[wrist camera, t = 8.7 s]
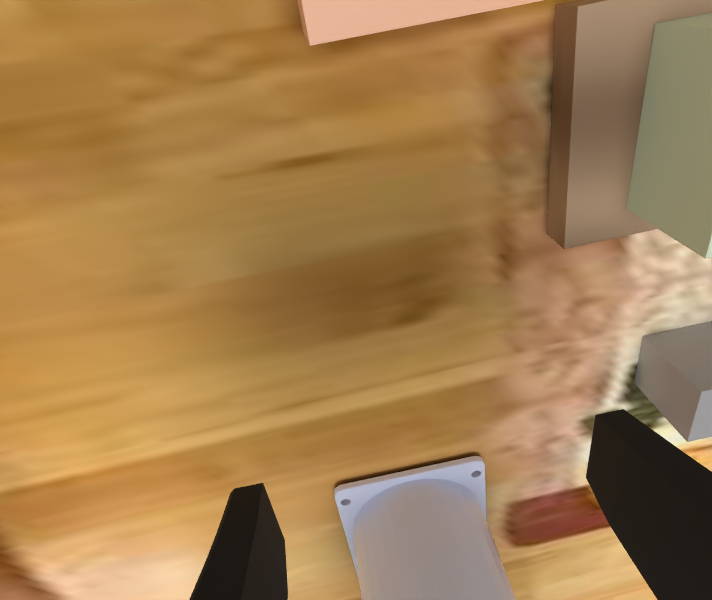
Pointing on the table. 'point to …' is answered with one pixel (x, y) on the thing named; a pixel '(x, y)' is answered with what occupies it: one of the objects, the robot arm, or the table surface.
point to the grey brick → (679, 377)
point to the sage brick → (677, 135)
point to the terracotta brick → (382, 15)
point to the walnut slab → (600, 112)
